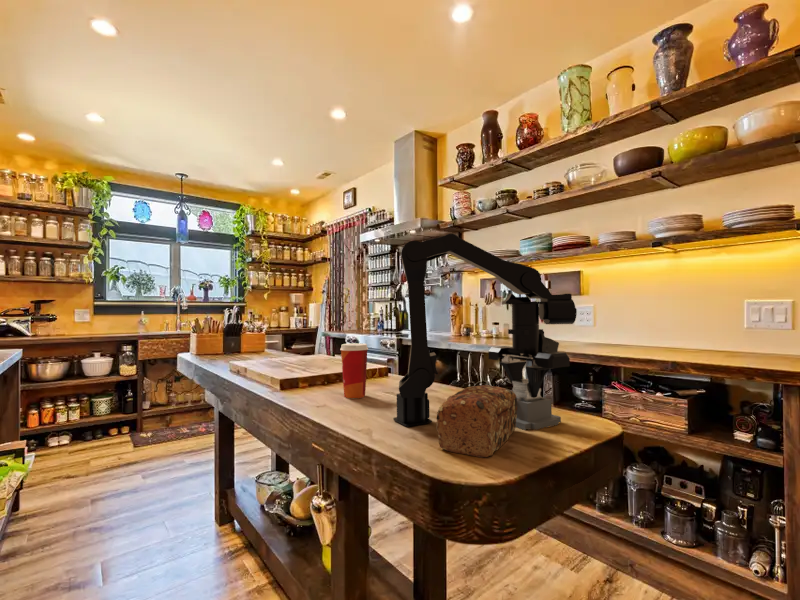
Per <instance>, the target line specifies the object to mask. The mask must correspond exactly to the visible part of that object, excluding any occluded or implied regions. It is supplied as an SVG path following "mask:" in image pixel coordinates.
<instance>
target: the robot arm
mask: <svg viewBox="0 0 800 600" xmlns="http://www.w3.org/2000/svg"><path fill="white" fill-rule="evenodd" d="M400 255H401V262H402V265H403V271H404V276H405V279H406V283H407V291H408V293H407V294H408V295H407V296H408V308H409V309H408V310H409V327H410V329H409V330H410V351H409V360H408V367H407V368H408V369H407V373H406V374H405V375H404V376H403V377H402V378H401V379H399V382H398V383H399V384H398V391H399V393H396V417H395V416H394V417H393V418H392V419H393V421H395V422H396V423H399V424H400V425H403V426H404V427H406V428H408V427H416V426H419V425H420V426H421V425H427V424H430V423H433V420H432V419H430V416H431V415H430V399H429V398H428V396H429V395H428V392H427V389H428V388H430V387H431V386H432V385H433V384H434V382H435V377H436V375H439V373H438V371H437V365H436V364H437V354H436V353H435V352H434V351H433V352H430V349H429V346H428V331H427V328H428V327H427V313H426V312H427V310H426V292H425V278H426V273H427V263H428V262H429V261H433V260H435V259H438V258H441V257H443V256H445V255H451V256H453V257H455V258H457V259H459V260H461V261H463V262H465V263H468V264H469V265H471V266H473V267H474V268H477V269H479V270H480V271H482V272H485V273H487V274H489V275H490V276H493V277H494V278H495V279H497V280H498V281H499V282H500V283H501V284H502V285H503V286H505V287H506V288H507V289H509V291H511V292H512V293H508V296H507V297H506V298H505V299H504V300H503V301H502V302H501V303H502V305H511V323H512V324H511V328H509V329H507V333H508V335H511V336H512V337H511V338H512V343H511V345H512V346H506V345H505V346H504V345H502V346H491V347H490V349H489V350H488V360H493V361H498V360H499V359H501V361H499V365H501V366H502V368H503V369H504V371H505V373H506V375H507V377H508V378H509V381H510V382H511V383H512V381H513V380H521V379H523V375H524V374H523V371H524V368H525V371H526V375H527V379H528V382H529V387H530V392H531V395H532V397H533V398H535V397H537V395H538V392H539V389H540V388H541V386H542V384H543V381H544V378H545V375H546V374H547V373H548V372H550V370H552V369H553V370H554V369H558V368H568V367H571V365H570V360H571V359H570V356H569V355H568V354H567V352H564V351H563V352H562V351H558V350H559V345H560V342H558V341H556V340H554V339H552V338H550V337H547V336H545V331H544V329H543V328H540V320H541V321H542V322H543V323H544V324H545V325H573V324H574V323H575V321H576V320H577V313H578V311H577V308H576V304H575V302H574V300H573V298H572V293H561V294H552V293H551V292H550V291H549V289H548V288H547V287H546V286H545V284H544V283H543V282H542V277H541V273H540V272H539V271H538V269H536V268H534V267H531V266H527V265H524V264H522V263H518V262H512V261H508V260H505V259H503V258H500V257H498V256H497V255H495V254H493V253H491V252H488V251H487V250H485V249H483V248H481V247H478V246H477V245H474V244H473V243H470V242H469V241H466V240H464V239H463V238H461V237H459V236H458V235H457V234H456V233H448V234H446V235H443V236H439V237H435V238H430V239H428V240H425V241H418V240H411V241H407V243H405V244H404V245H403V247H402V248H401V254H400ZM515 294H516V295H524V296H515ZM531 299H532V300H533V299H536V300H537V299H539V301H531ZM527 361H528V362H532V364H531V365H528V366H527V365H526V364H527Z"/></svg>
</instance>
